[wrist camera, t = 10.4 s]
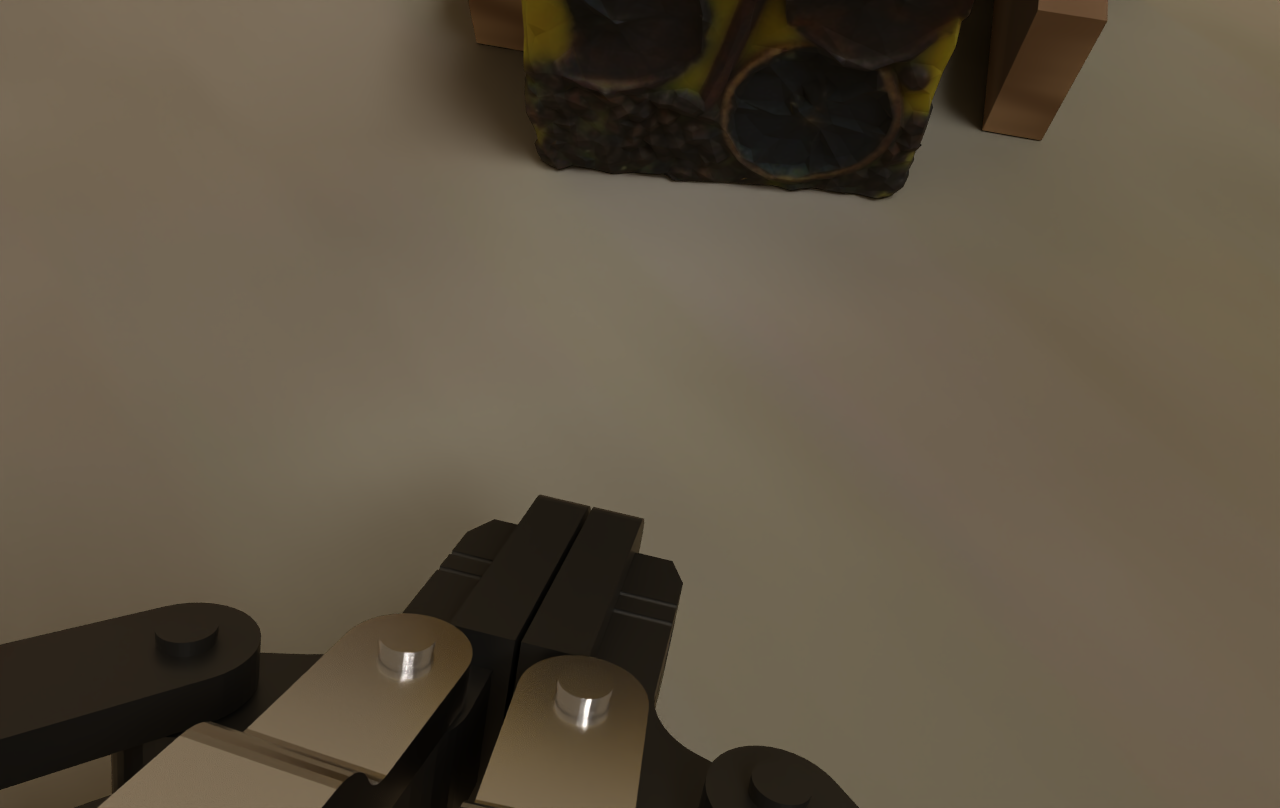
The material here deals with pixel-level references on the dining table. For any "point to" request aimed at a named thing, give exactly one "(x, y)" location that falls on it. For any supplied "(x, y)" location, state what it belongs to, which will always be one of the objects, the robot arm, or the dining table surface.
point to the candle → (738, 87)
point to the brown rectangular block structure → (1018, 59)
